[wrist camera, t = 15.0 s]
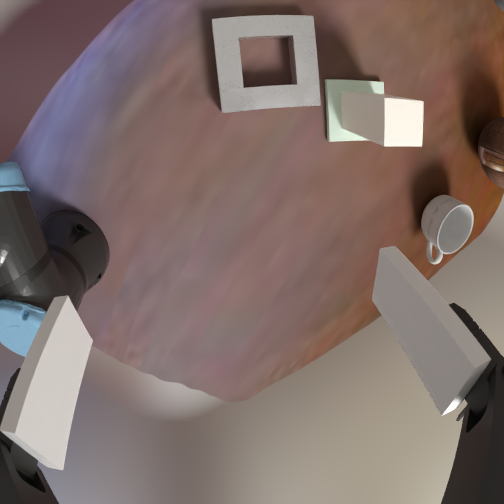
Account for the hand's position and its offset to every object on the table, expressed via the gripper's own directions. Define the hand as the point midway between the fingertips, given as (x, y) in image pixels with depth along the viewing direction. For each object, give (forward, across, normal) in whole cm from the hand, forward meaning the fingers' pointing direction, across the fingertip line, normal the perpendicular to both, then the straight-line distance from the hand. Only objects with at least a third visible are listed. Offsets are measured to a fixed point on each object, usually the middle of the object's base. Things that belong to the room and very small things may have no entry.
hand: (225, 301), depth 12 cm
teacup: (+37, +42, -19) cm, 59 cm away
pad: (+37, +23, +3) cm, 43 cm away
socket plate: (+37, +9, +11) cm, 39 cm away
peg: (+36, +23, +3) cm, 43 cm away
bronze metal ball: (+37, +57, -2) cm, 68 cm away
